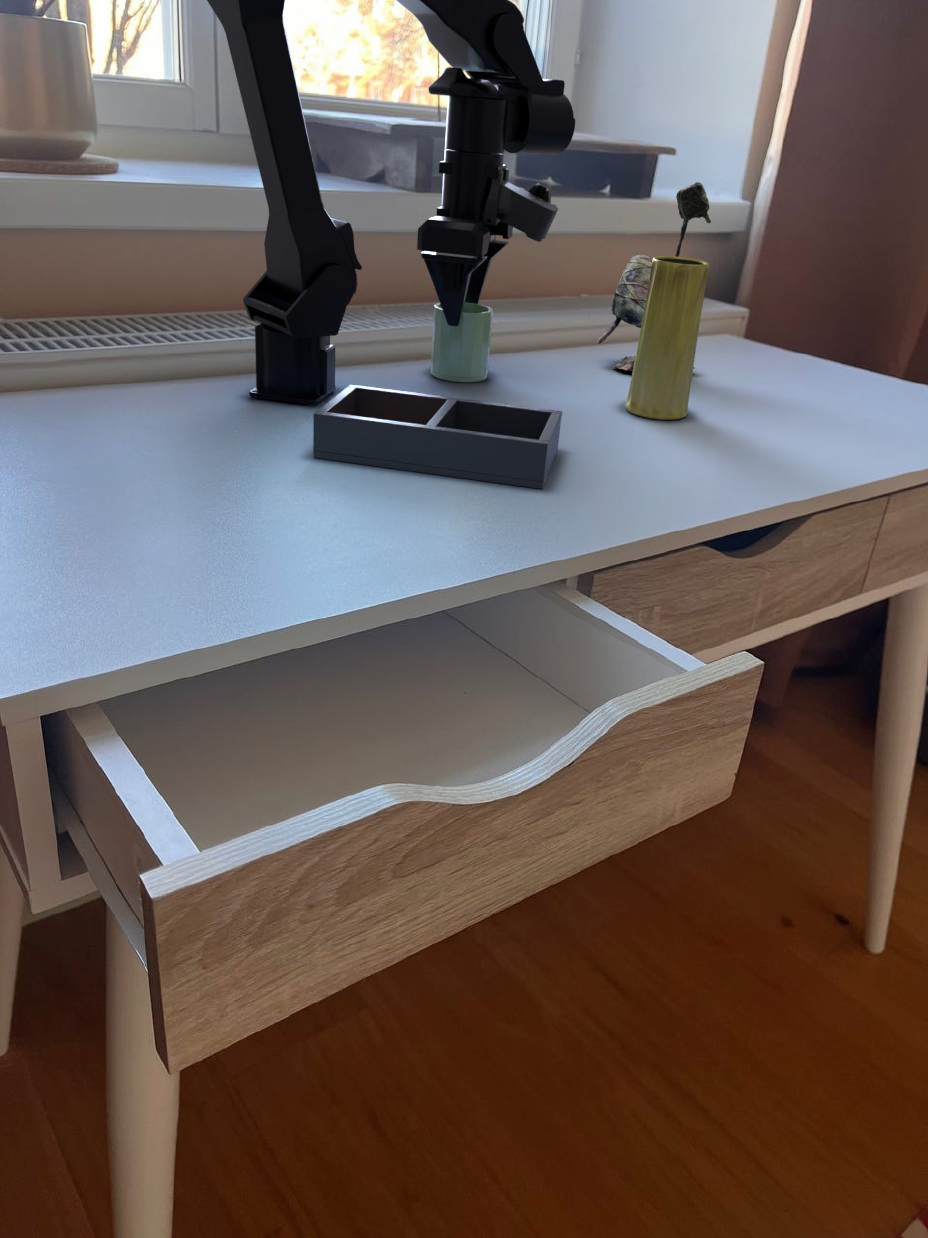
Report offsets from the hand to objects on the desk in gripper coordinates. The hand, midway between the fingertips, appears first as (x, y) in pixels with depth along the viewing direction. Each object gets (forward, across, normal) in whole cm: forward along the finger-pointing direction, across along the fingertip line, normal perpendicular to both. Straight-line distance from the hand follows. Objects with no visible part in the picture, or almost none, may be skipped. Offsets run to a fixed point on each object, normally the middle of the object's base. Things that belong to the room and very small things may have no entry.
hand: (462, 317), depth 103 cm
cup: (+6, 0, 0) cm, 6 cm away
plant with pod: (+6, +13, -19) cm, 24 cm away
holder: (+6, -27, -4) cm, 28 cm away
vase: (+6, -5, -21) cm, 22 cm away
